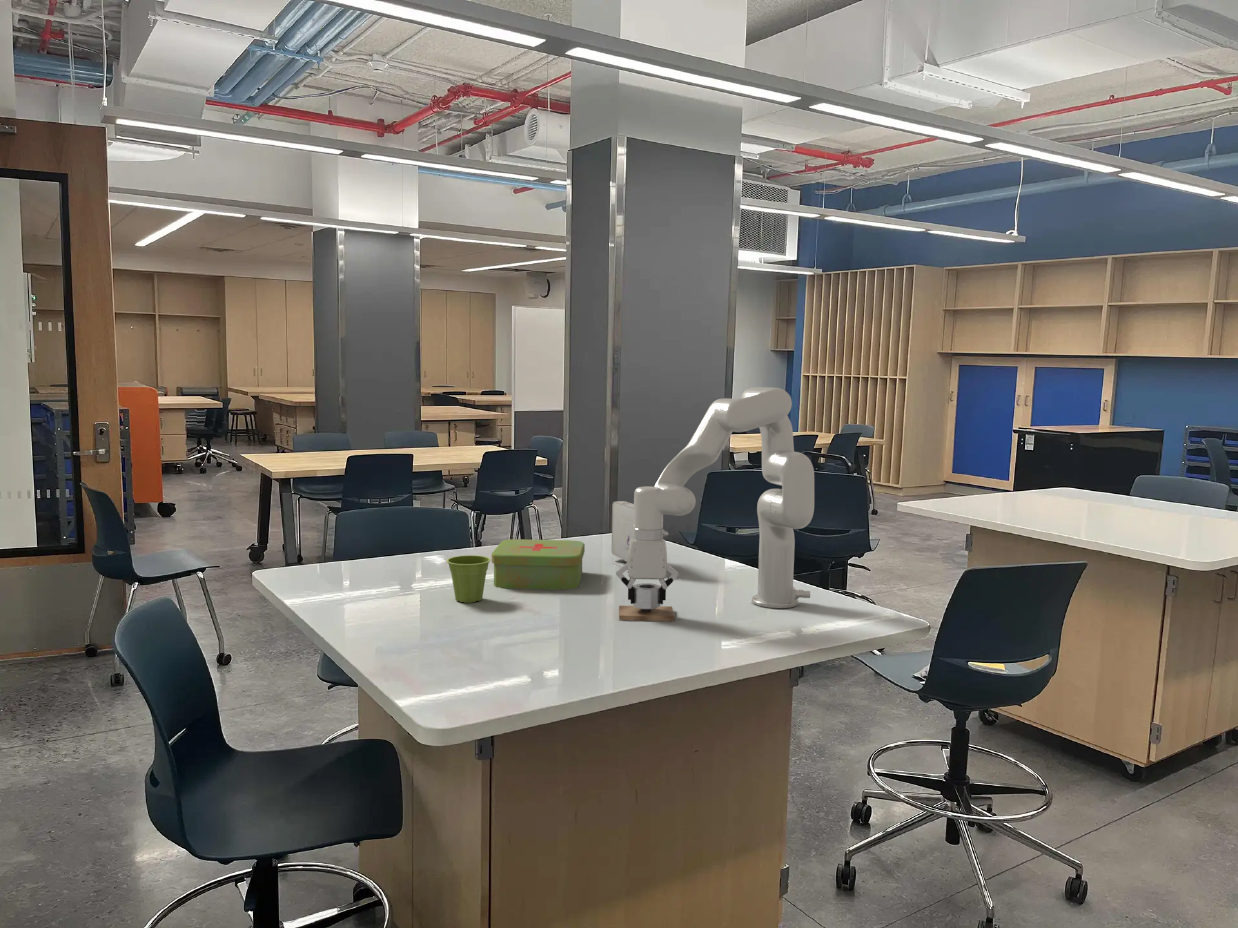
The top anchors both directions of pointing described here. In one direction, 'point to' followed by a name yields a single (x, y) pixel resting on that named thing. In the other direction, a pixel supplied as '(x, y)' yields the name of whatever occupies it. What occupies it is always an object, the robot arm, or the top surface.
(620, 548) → the network device
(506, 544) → the first aid kit
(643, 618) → the post block
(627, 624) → the top surface
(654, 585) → the steel ring
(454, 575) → the plant pot
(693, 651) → the top surface
